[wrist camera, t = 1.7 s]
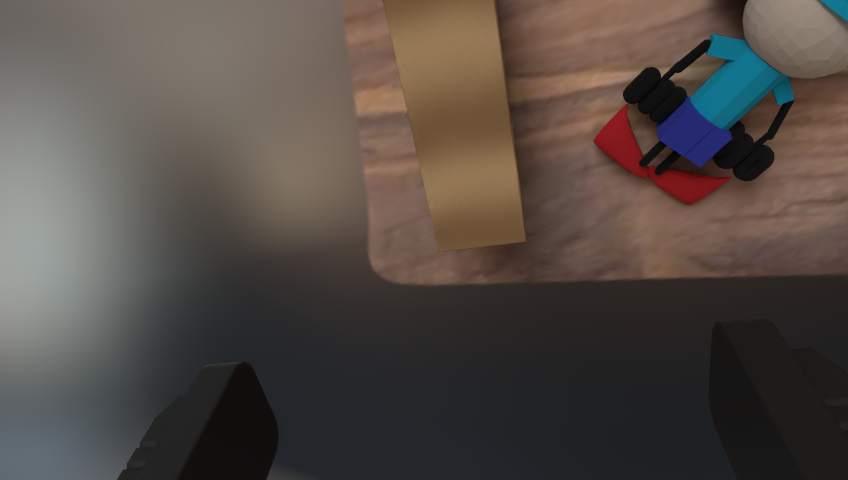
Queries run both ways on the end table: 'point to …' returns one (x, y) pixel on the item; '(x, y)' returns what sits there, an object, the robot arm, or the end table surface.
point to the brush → (460, 118)
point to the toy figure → (729, 95)
